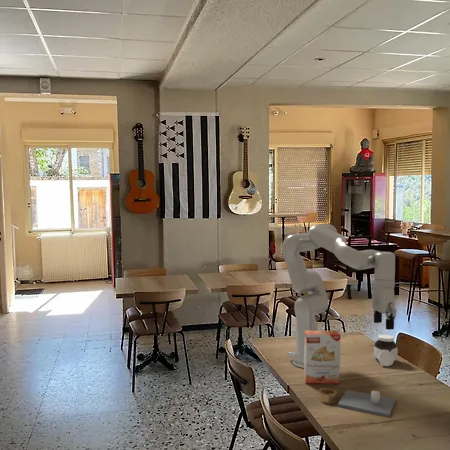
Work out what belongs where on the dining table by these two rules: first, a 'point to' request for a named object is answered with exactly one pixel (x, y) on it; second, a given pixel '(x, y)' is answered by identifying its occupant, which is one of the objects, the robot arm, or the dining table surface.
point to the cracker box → (322, 357)
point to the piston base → (367, 402)
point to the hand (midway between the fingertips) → (383, 325)
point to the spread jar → (385, 350)
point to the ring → (327, 395)
